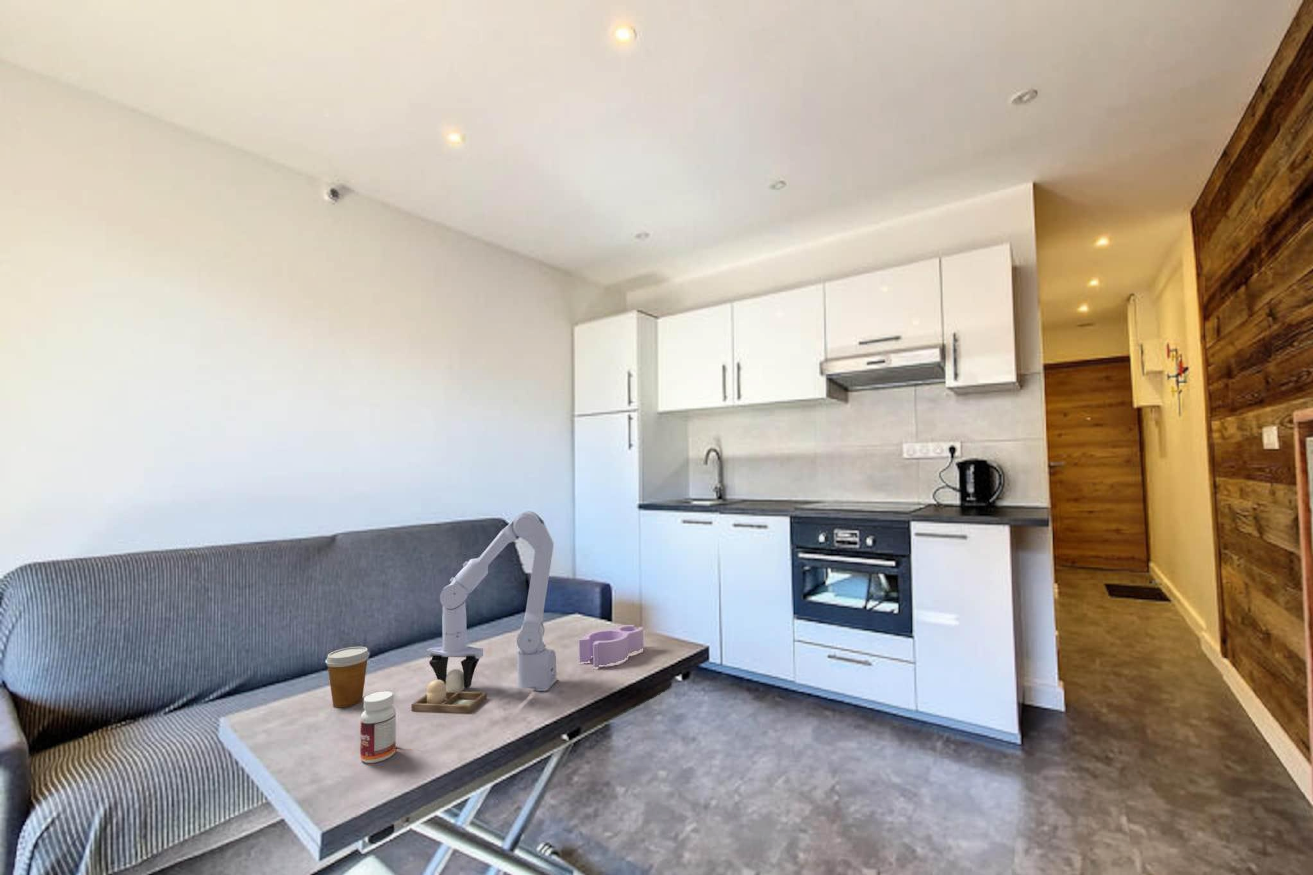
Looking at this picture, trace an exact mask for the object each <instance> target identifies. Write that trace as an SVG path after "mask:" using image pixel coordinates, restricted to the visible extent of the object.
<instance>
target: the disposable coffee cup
mask: <svg viewBox="0 0 1313 875" xmlns="http://www.w3.org/2000/svg"><path fill="white" fill-rule="evenodd" d="M370 654H371V653H370V652H369V649H368V648H367V646H350V647H344V648H340V649H337V650H334V651H332V652H330V653H328V654H327V658H326V659H325V664H326V666H327V670H328V678H329V685H330V692H331V701H332V705H333V707H334V708H347V707H351V706H354V705H357V704H359V703H360V702H362V701H363V700H364V698H363V697H364V689H365V682H366V675H367V674H366V673H367V667H368V666H367V665H368V659H369V656H370Z"/></svg>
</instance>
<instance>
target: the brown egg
mask: <svg viewBox="0 0 1313 875" xmlns="http://www.w3.org/2000/svg"><path fill="white" fill-rule="evenodd" d="M426 694H427V704H442V703H443V702H444V701H446V685H445V683H444V682H443V681H442V680H437V679H434V680H432V681H431V682H429V684H428V685H427V687H426Z"/></svg>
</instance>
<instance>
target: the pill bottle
mask: <svg viewBox="0 0 1313 875" xmlns="http://www.w3.org/2000/svg"><path fill="white" fill-rule="evenodd" d="M393 704H394V693H393V692H392V691H387V690H385V691H377V692H374V693H370V694H368V695H367V696H365V697H364V698H363V709H364V710H363V712H362V713H361V715H360V724H359V725H360V727H359V728H360V732H359V733H360V736H359V737H360V738H359V739H360V740H359V741H360V742H359V743H360V745H359V746H360V747H359V750H360V751H359V753H360V756H359V758H360V760H361V762H363V763H366V764H374V763H379V762H382V761H385V760H388V759H389V758H391V757H392V756H393V755H394V754H395V753H396V749H397V748H396V744H397V743H396V742H397V741H396V736H397V735H396V734H397V733H396V732H397V731H396V730H397V728H396V726H397V723H396V722H397V721H396V720H397V718H396V713H397V711H396V708H395V706H393Z"/></svg>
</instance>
